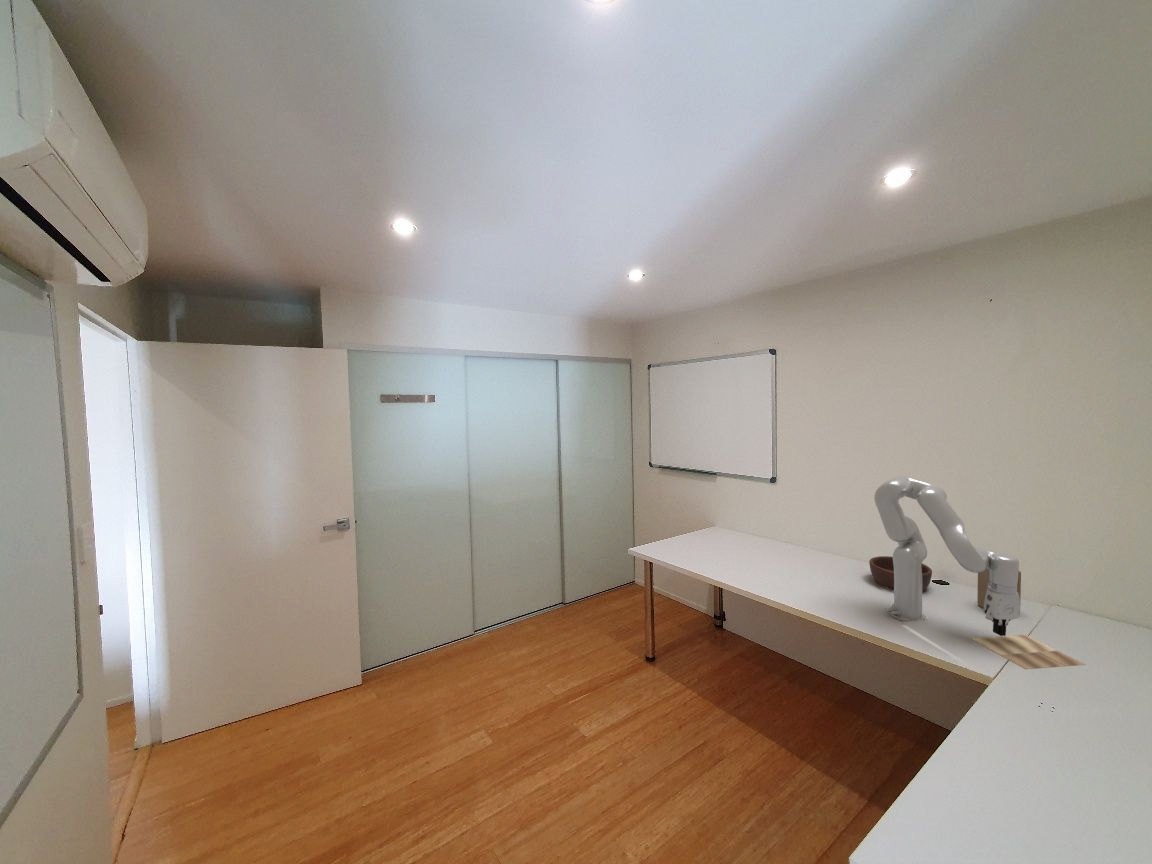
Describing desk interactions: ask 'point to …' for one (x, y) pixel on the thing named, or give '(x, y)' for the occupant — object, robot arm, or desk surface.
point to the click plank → (1013, 644)
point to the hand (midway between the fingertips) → (999, 633)
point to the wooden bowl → (885, 572)
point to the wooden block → (983, 586)
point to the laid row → (1042, 660)
